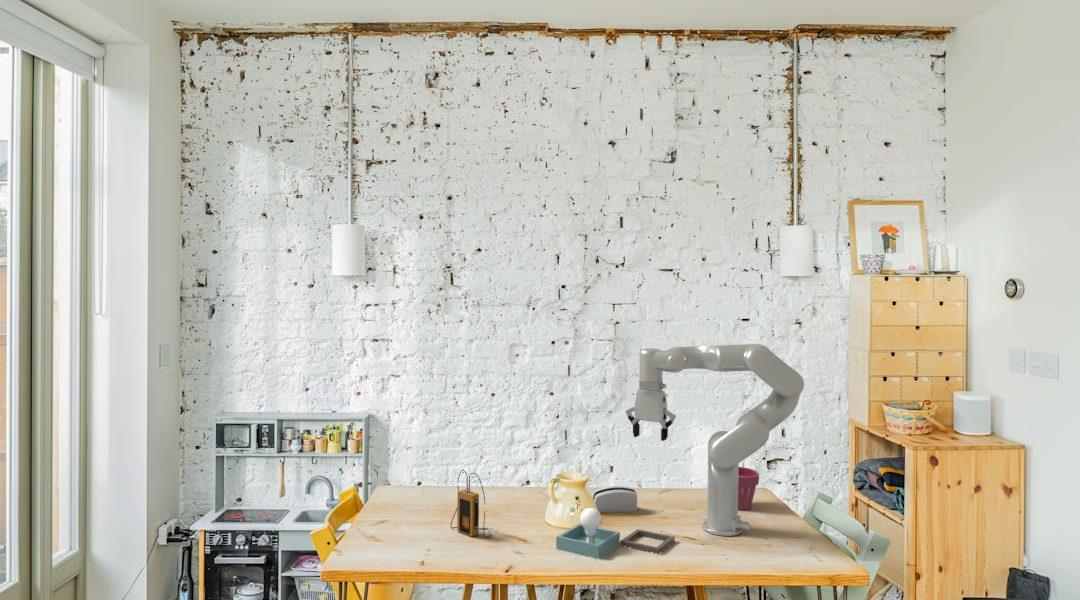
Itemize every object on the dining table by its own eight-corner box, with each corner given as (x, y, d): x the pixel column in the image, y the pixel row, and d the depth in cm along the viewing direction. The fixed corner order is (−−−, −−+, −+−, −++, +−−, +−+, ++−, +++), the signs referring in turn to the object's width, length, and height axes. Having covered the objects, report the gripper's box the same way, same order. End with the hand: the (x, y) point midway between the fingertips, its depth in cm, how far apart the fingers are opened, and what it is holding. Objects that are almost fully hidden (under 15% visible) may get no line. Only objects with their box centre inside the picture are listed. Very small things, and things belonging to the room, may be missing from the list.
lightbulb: (599, 549, 208) (600, 512, 208) (578, 547, 210) (578, 510, 210) (602, 541, 215) (602, 505, 215) (581, 540, 216) (581, 504, 216)
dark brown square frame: (674, 541, 217) (674, 536, 217) (658, 554, 207) (658, 549, 207) (637, 533, 224) (637, 529, 224) (620, 545, 213) (620, 540, 213)
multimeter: (503, 532, 224) (504, 469, 223) (480, 540, 216) (480, 475, 216) (472, 521, 234) (473, 461, 233) (449, 529, 226) (449, 466, 226)
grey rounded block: (633, 506, 252) (636, 482, 249) (637, 514, 248) (641, 490, 244) (587, 508, 249) (590, 484, 245) (591, 517, 245) (594, 492, 241)
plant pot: (766, 511, 247) (766, 475, 247) (729, 514, 244) (730, 477, 244) (745, 499, 261) (745, 465, 261) (710, 501, 258) (710, 466, 258)
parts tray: (619, 543, 215) (619, 532, 215) (598, 558, 203) (598, 546, 203) (579, 534, 222) (579, 523, 222) (556, 548, 210) (556, 536, 210)
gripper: (679, 387, 231) (679, 439, 231) (631, 382, 240) (630, 433, 241) (671, 389, 225) (670, 443, 225) (621, 385, 234) (621, 437, 234)
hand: (650, 438), depth 233 cm, fingers open, 9 cm apart
